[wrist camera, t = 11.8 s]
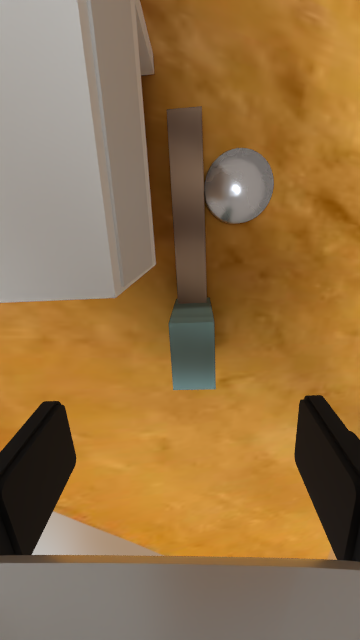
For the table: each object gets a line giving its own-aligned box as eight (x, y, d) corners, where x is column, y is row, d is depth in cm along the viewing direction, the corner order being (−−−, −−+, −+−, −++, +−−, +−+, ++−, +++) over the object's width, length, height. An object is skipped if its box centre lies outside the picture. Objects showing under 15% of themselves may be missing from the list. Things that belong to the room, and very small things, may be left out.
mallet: (165, 119, 21) (150, 67, 14) (205, 116, 21) (209, 61, 14) (179, 350, 26) (173, 389, 20) (210, 349, 26) (215, 389, 20)
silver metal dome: (195, 170, 22) (195, 165, 20) (257, 144, 21) (263, 135, 19) (215, 232, 23) (216, 232, 21) (274, 210, 22) (281, 208, 21)
